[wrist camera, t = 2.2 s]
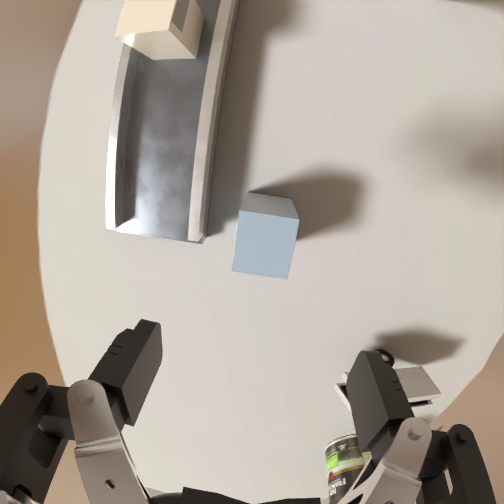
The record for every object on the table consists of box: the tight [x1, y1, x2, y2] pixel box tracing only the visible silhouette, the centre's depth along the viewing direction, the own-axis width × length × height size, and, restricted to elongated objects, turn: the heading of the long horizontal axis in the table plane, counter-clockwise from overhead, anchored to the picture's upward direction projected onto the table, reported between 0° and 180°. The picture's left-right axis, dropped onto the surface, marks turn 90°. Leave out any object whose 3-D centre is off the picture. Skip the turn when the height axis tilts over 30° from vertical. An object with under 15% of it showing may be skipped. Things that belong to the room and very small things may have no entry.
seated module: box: [114, 0, 205, 60], centre depth 17 cm, size 5×5×8 cm
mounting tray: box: [106, 0, 240, 244], centre depth 23 cm, size 28×10×4 cm, turn 172°
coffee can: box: [325, 434, 371, 504], centre depth 39 cm, size 10×10×14 cm
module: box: [232, 192, 300, 279], centre depth 25 cm, size 5×5×8 cm
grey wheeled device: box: [334, 349, 441, 413], centre depth 31 cm, size 4×10×15 cm
